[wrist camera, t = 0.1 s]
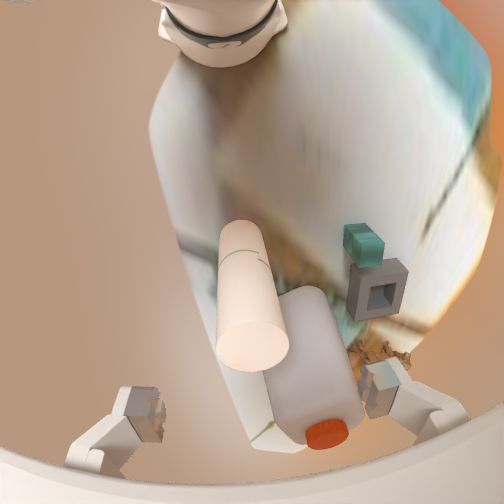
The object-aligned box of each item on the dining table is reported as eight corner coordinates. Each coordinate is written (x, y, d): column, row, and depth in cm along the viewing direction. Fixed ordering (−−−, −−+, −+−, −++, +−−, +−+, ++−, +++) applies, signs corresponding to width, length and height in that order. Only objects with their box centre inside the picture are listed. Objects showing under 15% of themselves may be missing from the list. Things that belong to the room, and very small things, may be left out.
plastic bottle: (338, 327, 62) (384, 437, 37) (274, 354, 64) (296, 469, 39) (316, 275, 55) (372, 398, 30) (243, 308, 57) (256, 440, 33)
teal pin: (344, 224, 51) (362, 245, 44) (364, 223, 51) (384, 242, 44) (343, 245, 53) (359, 267, 46) (363, 243, 53) (381, 265, 46)
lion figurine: (402, 335, 66) (418, 360, 58) (395, 350, 68) (409, 375, 60) (350, 340, 64) (363, 369, 56) (344, 356, 67) (355, 384, 59)
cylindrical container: (243, 265, 53) (255, 380, 31) (210, 242, 50) (201, 353, 28) (271, 236, 51) (303, 342, 29) (238, 211, 48) (249, 309, 26)
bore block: (351, 263, 55) (361, 277, 50) (396, 258, 55) (408, 271, 51) (346, 306, 59) (354, 321, 55) (388, 299, 60) (398, 313, 55)
